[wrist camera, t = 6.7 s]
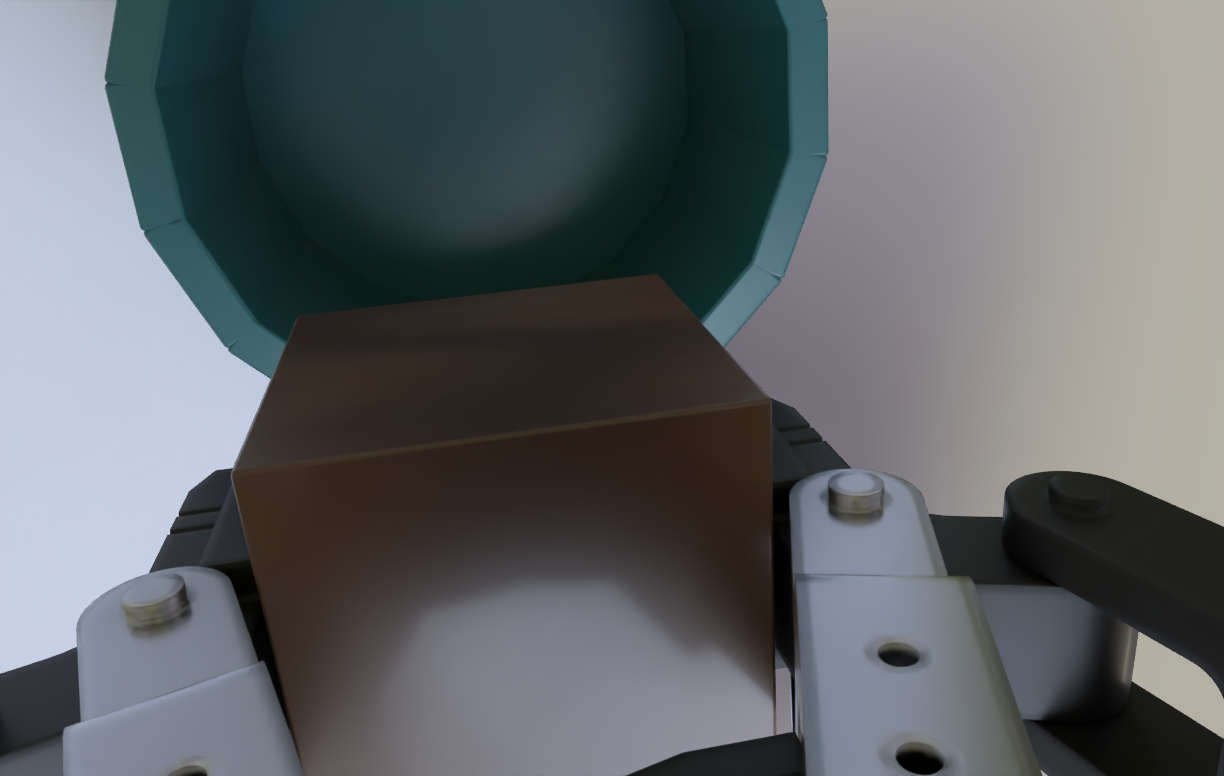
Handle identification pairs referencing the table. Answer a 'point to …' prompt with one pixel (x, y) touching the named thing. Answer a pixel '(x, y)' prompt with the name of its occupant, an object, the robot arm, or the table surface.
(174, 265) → the tin
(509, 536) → the block
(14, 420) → the table surface
